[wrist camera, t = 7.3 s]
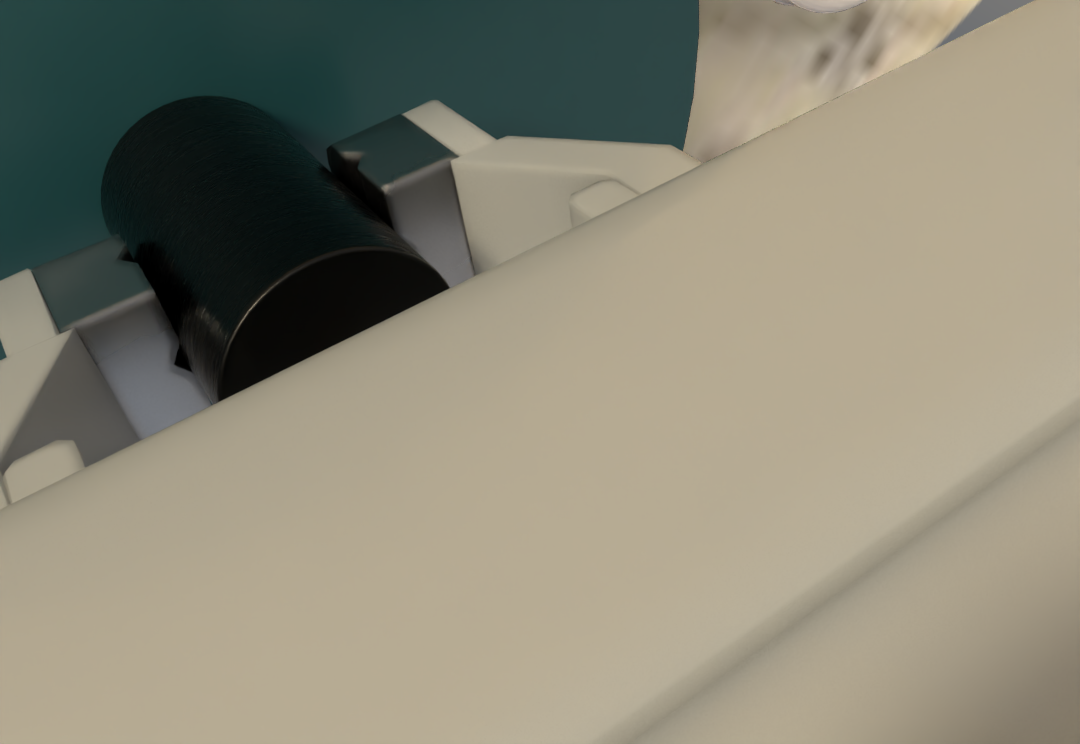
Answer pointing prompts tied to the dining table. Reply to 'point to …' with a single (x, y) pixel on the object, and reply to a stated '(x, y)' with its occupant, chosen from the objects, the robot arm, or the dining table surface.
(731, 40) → the dining table surface
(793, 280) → the robot arm
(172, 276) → the lid
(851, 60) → the dining table surface
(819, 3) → the smoothie
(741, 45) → the dining table surface
